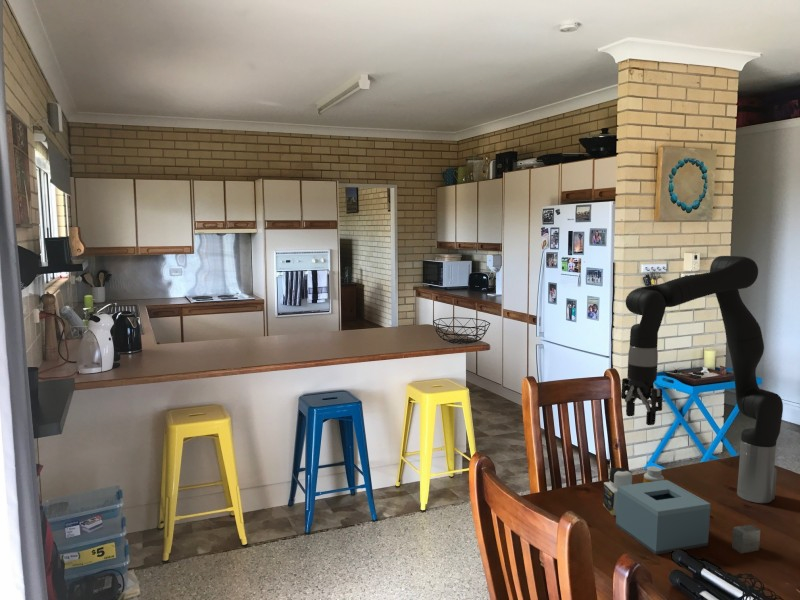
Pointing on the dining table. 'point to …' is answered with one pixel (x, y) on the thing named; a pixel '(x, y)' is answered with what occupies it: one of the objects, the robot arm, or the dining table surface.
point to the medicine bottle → (615, 487)
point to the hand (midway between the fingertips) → (640, 420)
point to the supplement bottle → (653, 474)
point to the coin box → (663, 516)
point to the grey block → (746, 538)
